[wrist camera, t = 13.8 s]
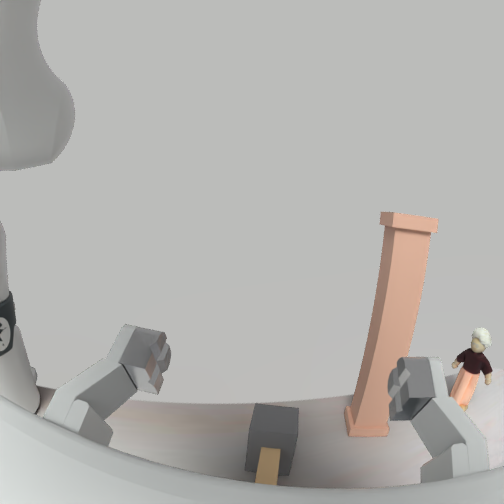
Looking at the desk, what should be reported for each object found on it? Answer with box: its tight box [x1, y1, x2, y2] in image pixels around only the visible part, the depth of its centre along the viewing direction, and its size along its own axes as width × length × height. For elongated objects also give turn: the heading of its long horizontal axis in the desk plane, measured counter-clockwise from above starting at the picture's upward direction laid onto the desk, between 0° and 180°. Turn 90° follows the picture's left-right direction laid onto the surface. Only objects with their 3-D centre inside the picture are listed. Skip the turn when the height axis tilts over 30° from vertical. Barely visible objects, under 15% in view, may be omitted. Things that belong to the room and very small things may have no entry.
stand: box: [344, 212, 438, 437], centre depth 33 cm, size 5×5×26 cm
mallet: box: [245, 403, 299, 485], centre depth 24 cm, size 4×13×6 cm, turn 172°
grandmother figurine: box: [449, 328, 492, 412], centre depth 35 cm, size 8×4×13 cm, turn 30°
